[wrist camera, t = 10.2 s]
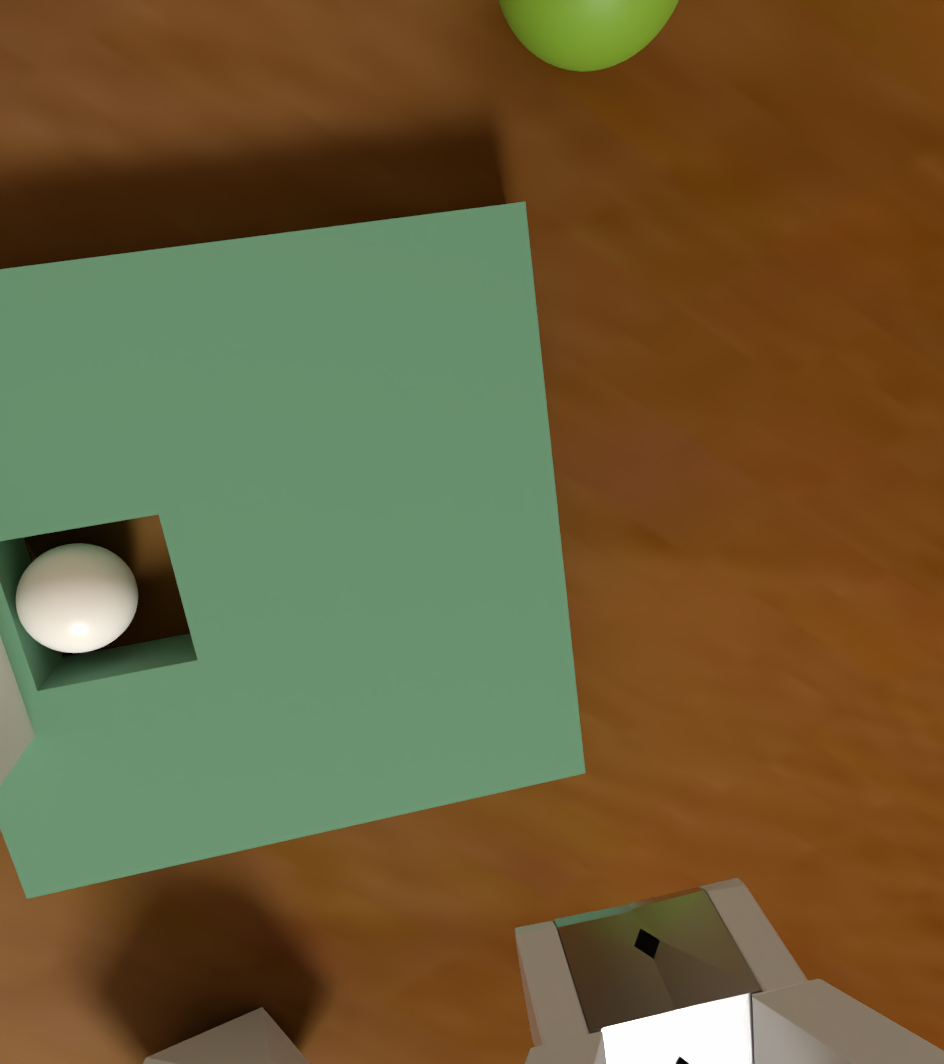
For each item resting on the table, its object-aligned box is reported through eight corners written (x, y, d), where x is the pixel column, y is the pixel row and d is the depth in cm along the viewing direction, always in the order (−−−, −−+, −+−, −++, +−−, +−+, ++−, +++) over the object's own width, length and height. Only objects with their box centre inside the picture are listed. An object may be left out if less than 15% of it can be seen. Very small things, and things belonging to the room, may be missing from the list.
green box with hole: (507, 210, 26) (552, 187, 20) (566, 738, 32) (612, 823, 26) (-148, 296, 23) (-287, 294, 18) (51, 850, 29) (-10, 969, 24)
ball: (112, 550, 23) (-16, 575, 22) (143, 656, 24) (21, 683, 24) (130, 521, 26) (18, 542, 26) (155, 615, 28) (49, 638, 27)
